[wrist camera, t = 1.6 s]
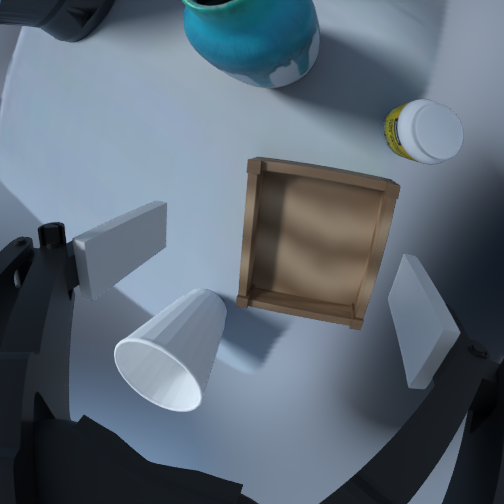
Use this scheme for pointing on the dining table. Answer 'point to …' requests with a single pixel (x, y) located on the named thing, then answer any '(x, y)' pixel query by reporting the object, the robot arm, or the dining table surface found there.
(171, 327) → the cup
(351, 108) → the dining table surface
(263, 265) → the crate
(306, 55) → the vase
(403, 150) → the pill bottle
